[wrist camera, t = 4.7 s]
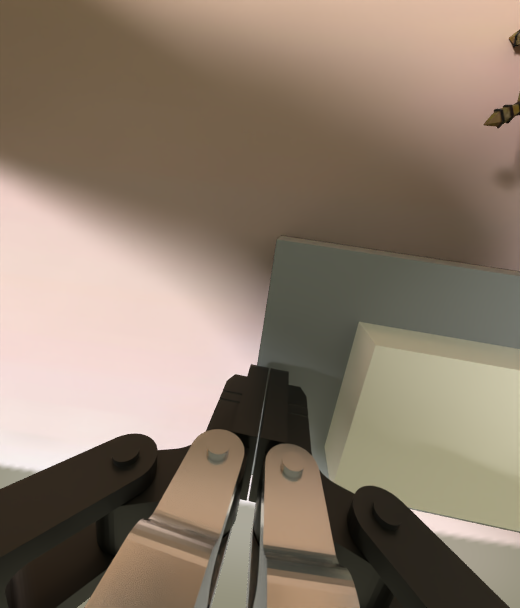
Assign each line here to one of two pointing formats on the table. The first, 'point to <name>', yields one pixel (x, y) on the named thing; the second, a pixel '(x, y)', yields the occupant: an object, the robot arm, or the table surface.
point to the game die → (508, 110)
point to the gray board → (371, 313)
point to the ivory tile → (430, 424)
